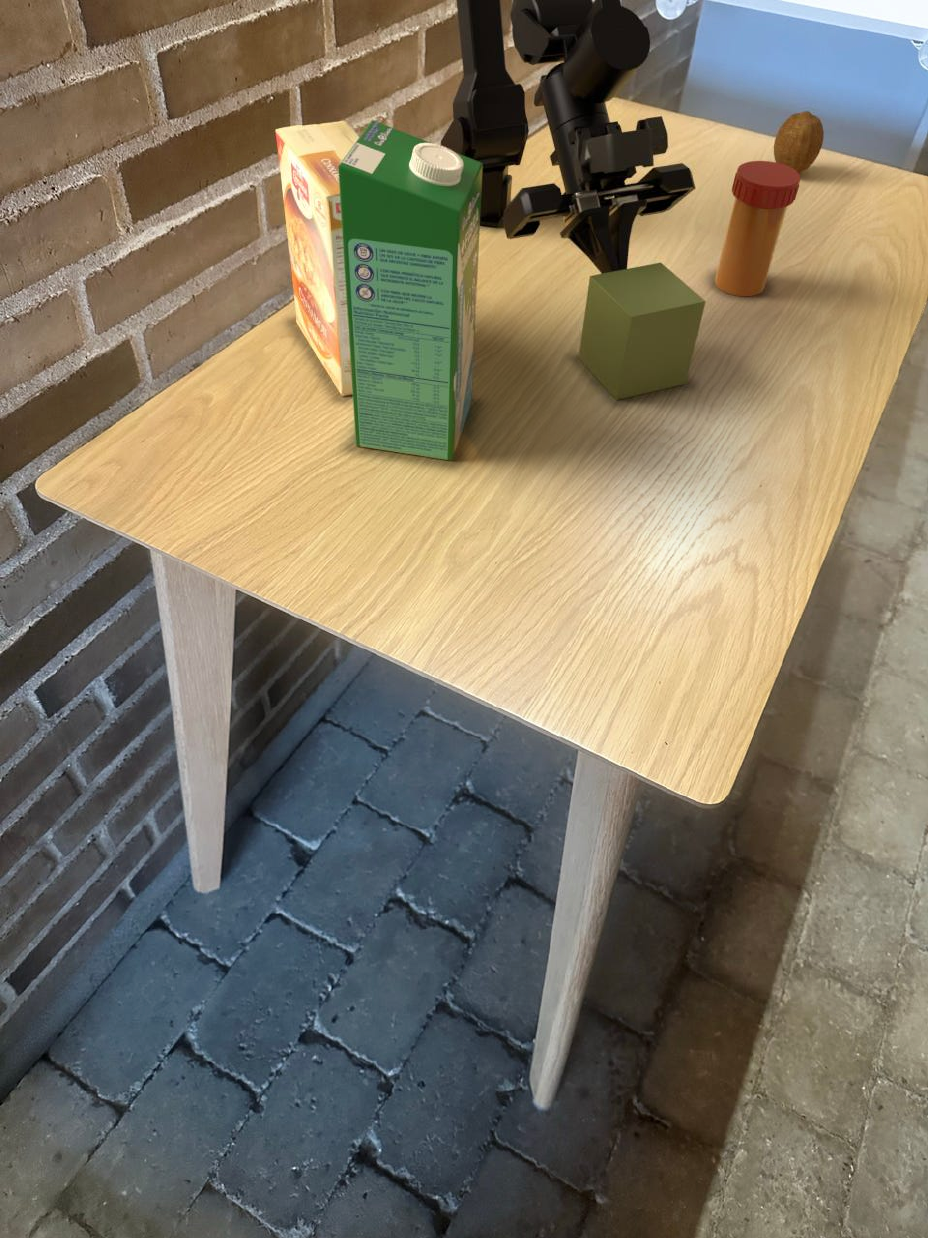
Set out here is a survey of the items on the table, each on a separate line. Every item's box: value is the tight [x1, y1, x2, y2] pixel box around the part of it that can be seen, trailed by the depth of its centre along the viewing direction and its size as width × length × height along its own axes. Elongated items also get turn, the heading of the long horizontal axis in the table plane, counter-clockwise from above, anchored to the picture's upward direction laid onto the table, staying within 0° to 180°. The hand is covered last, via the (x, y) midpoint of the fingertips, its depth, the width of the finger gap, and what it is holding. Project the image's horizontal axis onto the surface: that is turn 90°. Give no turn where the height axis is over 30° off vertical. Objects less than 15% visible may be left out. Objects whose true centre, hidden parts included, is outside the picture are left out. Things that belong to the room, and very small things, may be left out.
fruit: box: [773, 110, 825, 174], centre depth 127 cm, size 6×6×8 cm
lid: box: [731, 160, 801, 209], centre depth 100 cm, size 7×7×2 cm
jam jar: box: [714, 197, 788, 297], centre depth 104 cm, size 6×6×12 cm
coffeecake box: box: [274, 120, 360, 397], centre depth 89 cm, size 15×7×20 cm, turn 24°
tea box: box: [577, 262, 706, 401], centre depth 92 cm, size 8×8×9 cm
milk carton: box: [338, 119, 483, 462], centre depth 79 cm, size 9×9×25 cm
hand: (620, 286), depth 93 cm, fingers closed, pressing on tea box
